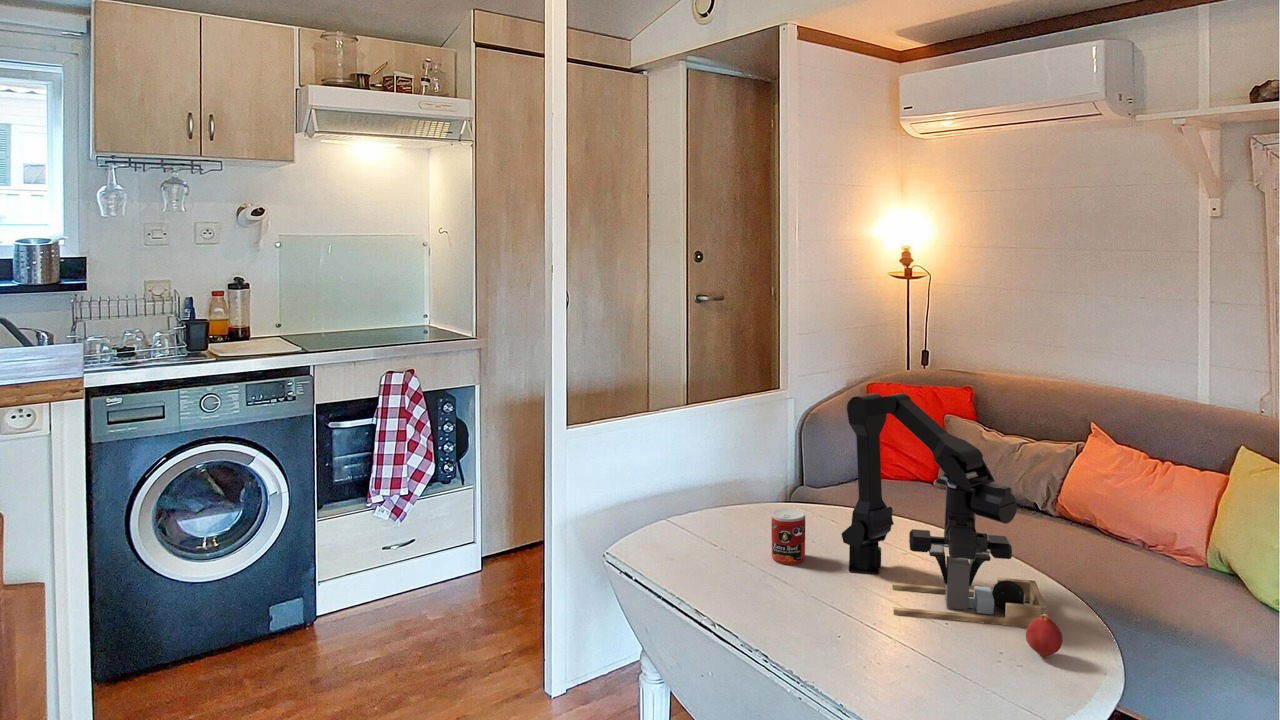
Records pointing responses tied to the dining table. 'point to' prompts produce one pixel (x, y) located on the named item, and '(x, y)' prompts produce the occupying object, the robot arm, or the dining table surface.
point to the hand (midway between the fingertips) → (957, 584)
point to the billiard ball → (1007, 594)
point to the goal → (1023, 612)
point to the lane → (938, 613)
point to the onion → (1044, 636)
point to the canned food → (788, 536)
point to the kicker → (965, 588)
